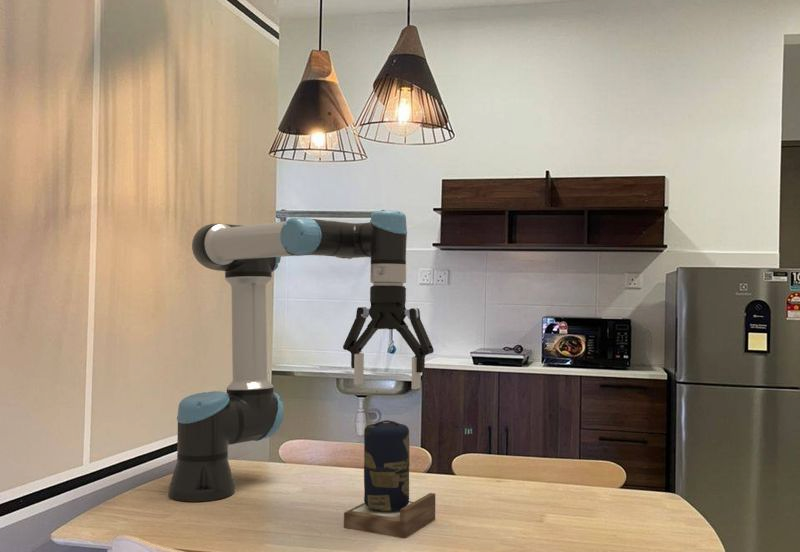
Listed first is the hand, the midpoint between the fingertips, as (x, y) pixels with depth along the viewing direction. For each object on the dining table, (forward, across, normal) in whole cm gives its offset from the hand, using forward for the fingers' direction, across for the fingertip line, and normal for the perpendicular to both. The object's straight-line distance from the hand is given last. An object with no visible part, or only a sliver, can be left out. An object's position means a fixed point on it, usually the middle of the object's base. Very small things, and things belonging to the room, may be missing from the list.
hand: (386, 386), depth 155 cm
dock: (+28, +1, 0) cm, 28 cm away
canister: (+25, 0, 0) cm, 25 cm away
